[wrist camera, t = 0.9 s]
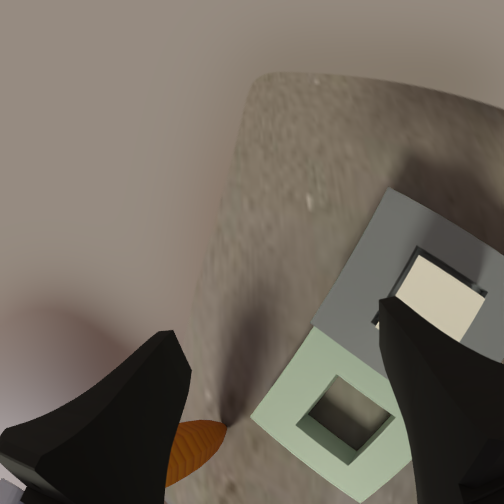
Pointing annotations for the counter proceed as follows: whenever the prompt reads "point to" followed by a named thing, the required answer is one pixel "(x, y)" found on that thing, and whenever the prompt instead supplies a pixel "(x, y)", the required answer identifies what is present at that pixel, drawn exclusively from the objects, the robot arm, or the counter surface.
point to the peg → (440, 298)
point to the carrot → (193, 447)
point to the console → (376, 341)
